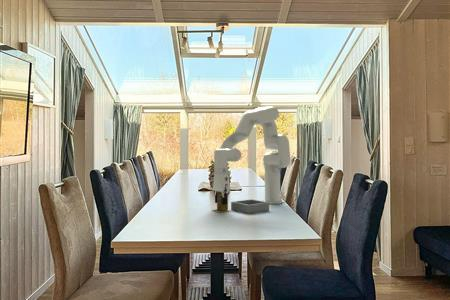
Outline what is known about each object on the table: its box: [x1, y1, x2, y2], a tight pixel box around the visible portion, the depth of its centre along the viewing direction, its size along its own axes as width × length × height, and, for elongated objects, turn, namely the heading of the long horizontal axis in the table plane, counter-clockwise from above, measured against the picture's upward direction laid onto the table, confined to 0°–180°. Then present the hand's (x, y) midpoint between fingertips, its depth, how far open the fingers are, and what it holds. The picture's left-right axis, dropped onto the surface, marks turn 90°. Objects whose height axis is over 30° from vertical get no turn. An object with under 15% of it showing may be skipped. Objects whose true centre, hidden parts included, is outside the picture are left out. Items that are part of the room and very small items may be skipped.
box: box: [230, 199, 270, 214], centre depth 226 cm, size 15×15×4 cm
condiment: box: [211, 192, 231, 213], centre depth 224 cm, size 7×8×12 cm
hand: (221, 203), depth 224 cm, fingers closed on condiment, 6 cm apart
